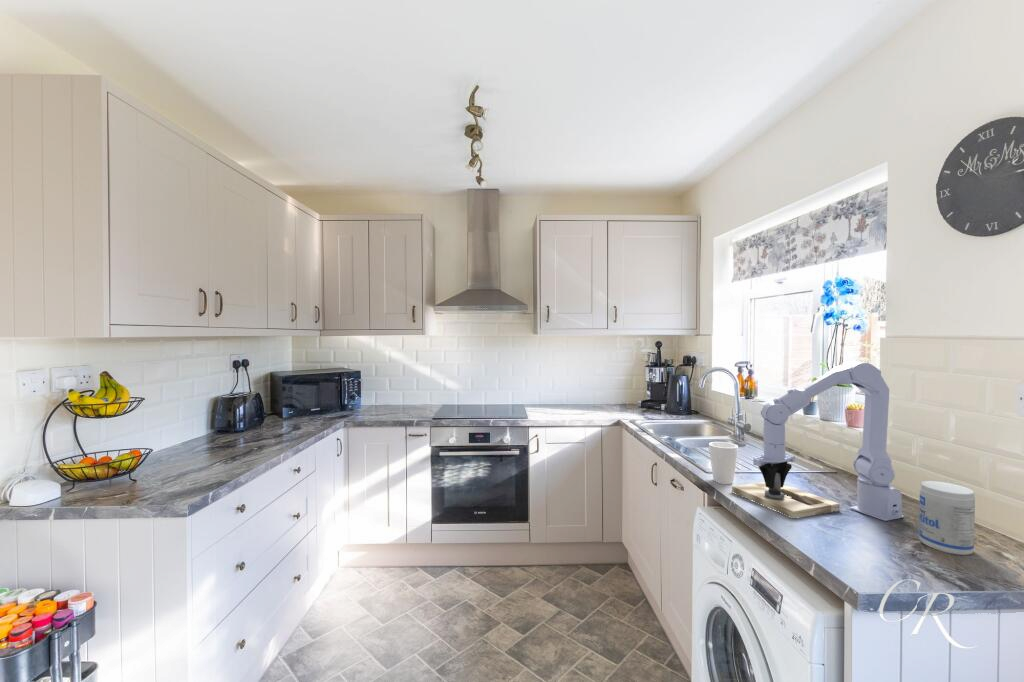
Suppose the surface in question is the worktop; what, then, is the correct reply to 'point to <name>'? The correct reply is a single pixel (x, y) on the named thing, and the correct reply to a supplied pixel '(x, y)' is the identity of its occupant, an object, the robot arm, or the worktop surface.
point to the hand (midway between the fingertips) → (774, 487)
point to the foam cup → (723, 461)
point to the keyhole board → (787, 500)
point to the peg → (776, 488)
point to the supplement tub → (947, 517)
